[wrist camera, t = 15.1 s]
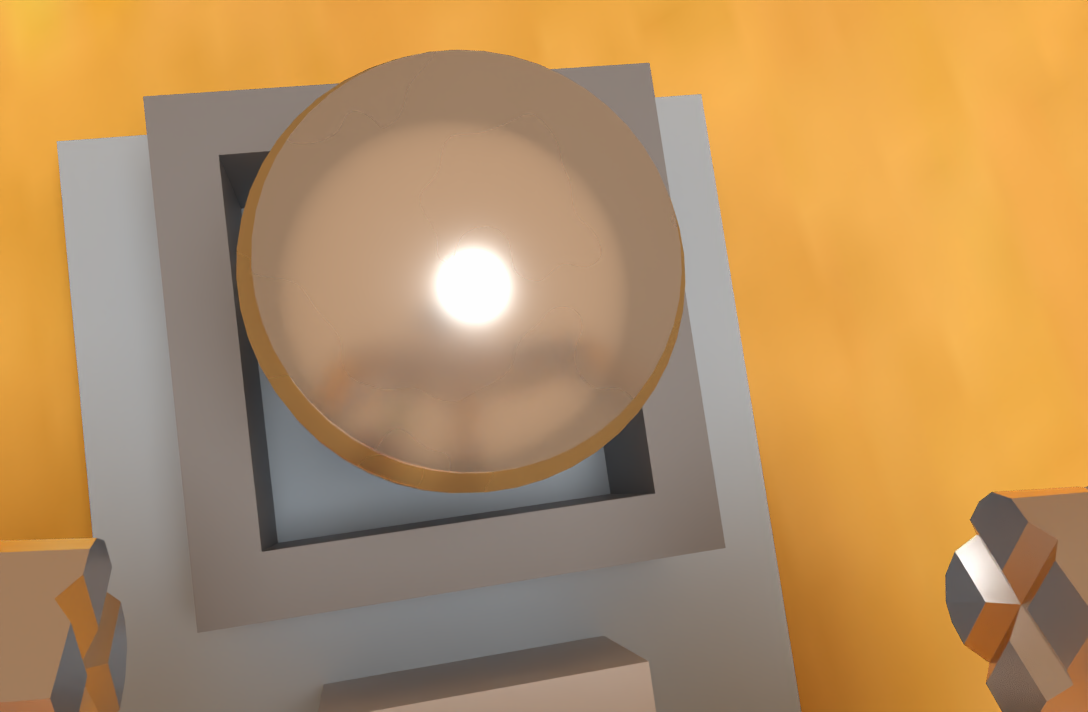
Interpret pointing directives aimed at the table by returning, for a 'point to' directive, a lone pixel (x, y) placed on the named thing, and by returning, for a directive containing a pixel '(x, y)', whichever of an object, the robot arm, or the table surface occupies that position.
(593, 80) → the plate
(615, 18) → the table surface
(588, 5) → the table surface
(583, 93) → the clear cylindrical piece
